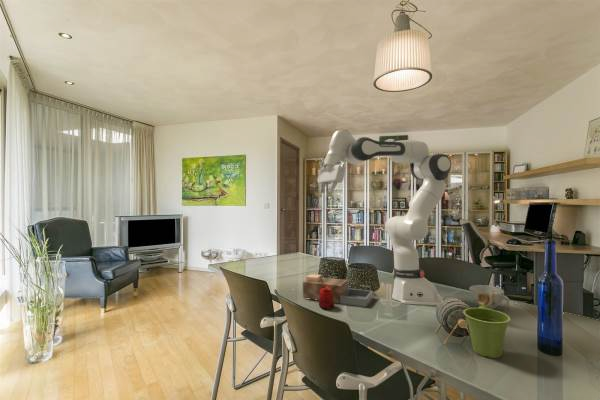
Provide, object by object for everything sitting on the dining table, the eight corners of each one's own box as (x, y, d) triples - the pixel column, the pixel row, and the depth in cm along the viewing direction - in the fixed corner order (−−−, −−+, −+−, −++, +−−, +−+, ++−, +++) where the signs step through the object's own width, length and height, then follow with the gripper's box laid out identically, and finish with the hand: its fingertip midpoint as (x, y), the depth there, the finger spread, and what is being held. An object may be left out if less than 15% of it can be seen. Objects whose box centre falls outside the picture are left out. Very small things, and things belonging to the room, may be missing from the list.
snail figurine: (491, 325, 107) (489, 291, 108) (473, 319, 113) (472, 287, 113) (499, 322, 110) (498, 289, 110) (482, 316, 116) (481, 285, 116)
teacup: (463, 305, 129) (462, 287, 129) (481, 300, 134) (480, 283, 134) (499, 316, 115) (498, 296, 115) (517, 311, 121) (517, 291, 121)
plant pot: (457, 351, 89) (455, 313, 89) (475, 340, 96) (474, 305, 96) (501, 367, 79) (499, 325, 80) (518, 354, 86) (517, 315, 86)
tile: (322, 279, 149) (321, 275, 149) (317, 281, 144) (317, 277, 144) (311, 278, 152) (311, 274, 152) (306, 280, 146) (306, 276, 146)
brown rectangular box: (348, 296, 146) (347, 279, 146) (340, 303, 135) (340, 285, 135) (312, 292, 154) (312, 276, 155) (303, 298, 144) (302, 282, 144)
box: (373, 298, 142) (372, 290, 142) (366, 307, 129) (366, 299, 129) (348, 295, 147) (348, 288, 147) (340, 304, 134) (339, 296, 134)
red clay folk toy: (333, 310, 126) (332, 275, 127) (317, 309, 128) (316, 275, 128) (335, 304, 134) (334, 271, 134) (319, 304, 135) (318, 271, 135)
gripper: (351, 163, 126) (342, 194, 125) (330, 168, 146) (323, 195, 144) (338, 158, 124) (330, 189, 123) (319, 164, 144) (311, 191, 142)
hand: (326, 192), depth 134 cm, fingers open, 8 cm apart
